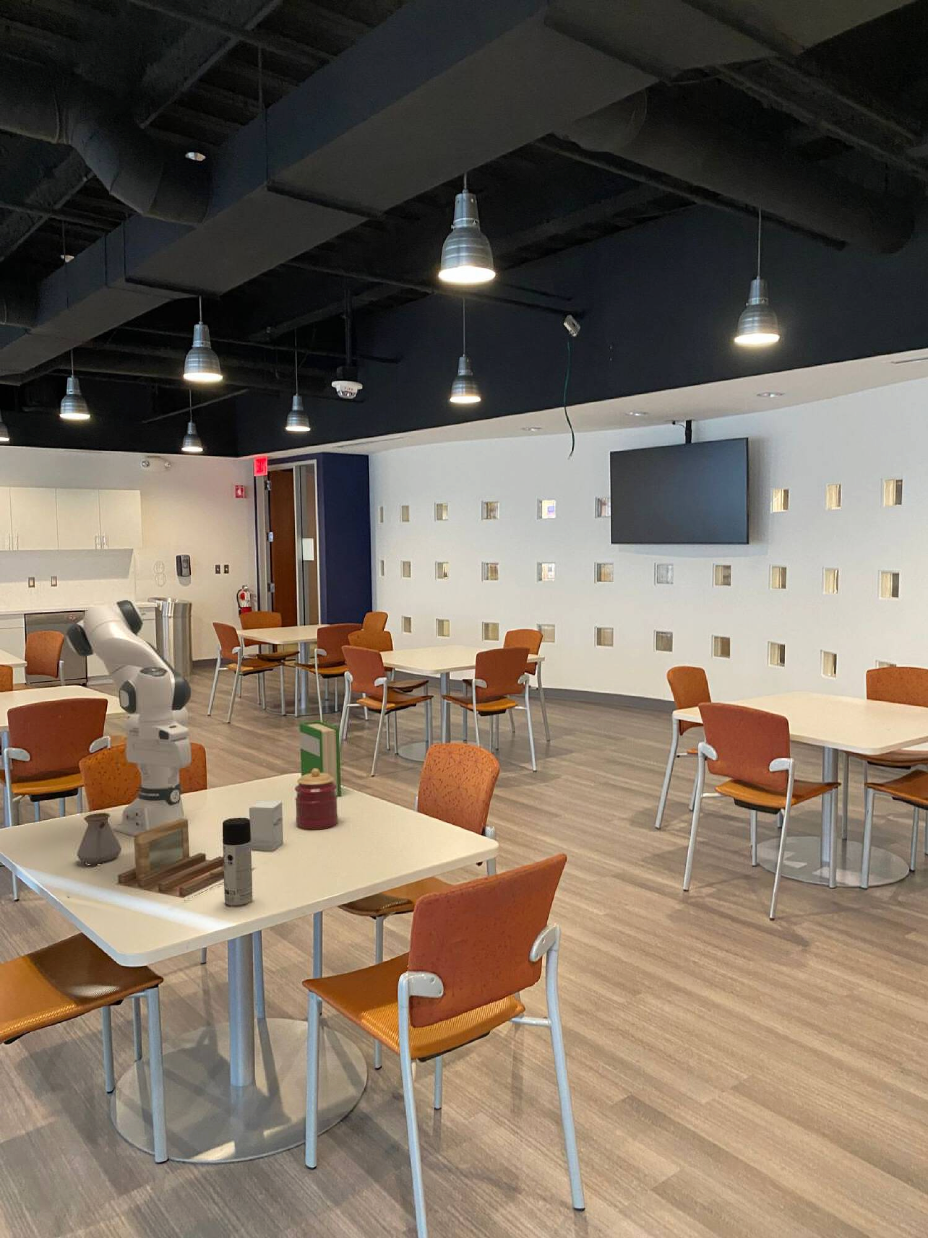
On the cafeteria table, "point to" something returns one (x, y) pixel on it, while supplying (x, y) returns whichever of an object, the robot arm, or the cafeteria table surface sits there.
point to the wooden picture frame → (161, 847)
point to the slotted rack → (178, 877)
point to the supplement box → (266, 825)
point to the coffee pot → (98, 841)
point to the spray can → (237, 861)
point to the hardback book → (320, 750)
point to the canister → (316, 801)
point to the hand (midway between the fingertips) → (159, 781)
